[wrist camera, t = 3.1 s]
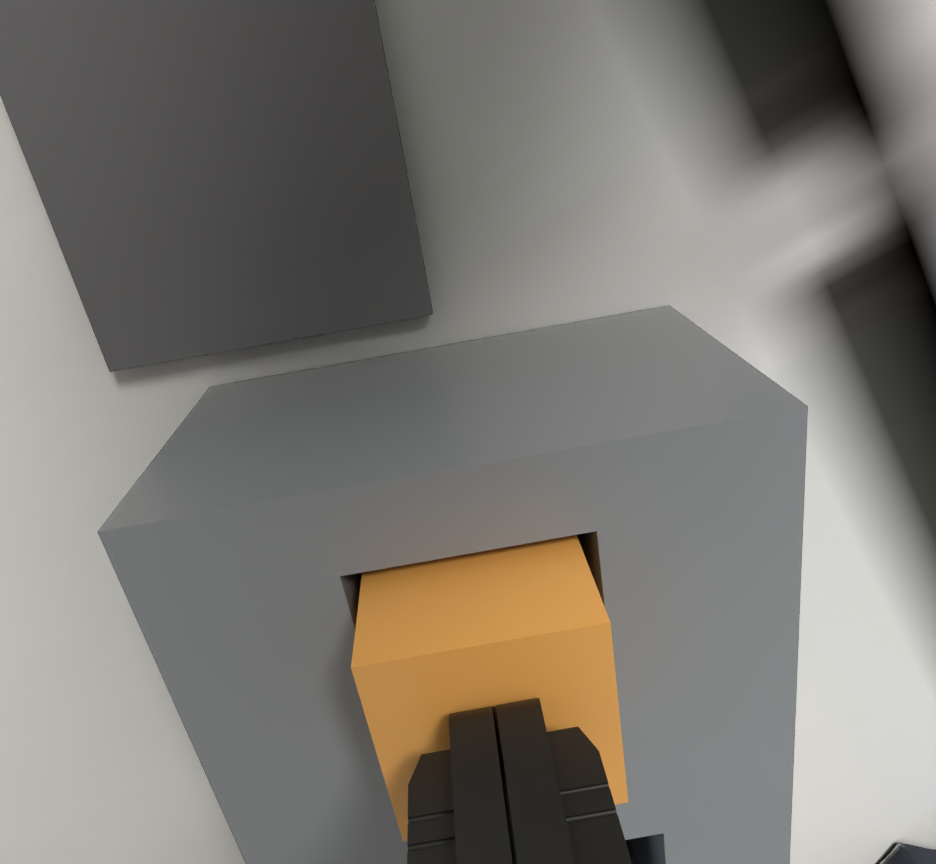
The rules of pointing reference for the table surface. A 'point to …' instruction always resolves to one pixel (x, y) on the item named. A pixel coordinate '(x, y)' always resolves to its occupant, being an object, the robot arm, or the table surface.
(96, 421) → the table surface
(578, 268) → the table surface
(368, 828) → the housing
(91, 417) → the table surface
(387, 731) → the orange rectangular block
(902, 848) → the box
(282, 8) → the mat
